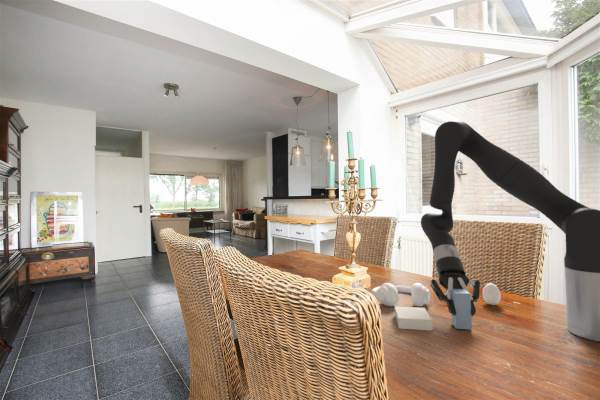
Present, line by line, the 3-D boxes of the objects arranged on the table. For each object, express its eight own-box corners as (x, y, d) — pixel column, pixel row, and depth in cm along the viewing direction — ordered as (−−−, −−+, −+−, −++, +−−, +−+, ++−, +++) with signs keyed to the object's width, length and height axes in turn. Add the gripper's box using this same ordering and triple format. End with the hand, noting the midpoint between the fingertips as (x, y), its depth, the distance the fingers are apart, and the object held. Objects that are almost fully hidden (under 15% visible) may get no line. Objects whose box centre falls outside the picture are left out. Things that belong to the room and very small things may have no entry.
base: (425, 317, 87) (424, 307, 87) (432, 330, 78) (432, 319, 78) (395, 315, 89) (394, 306, 89) (398, 328, 80) (398, 318, 80)
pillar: (451, 322, 82) (450, 288, 82) (466, 323, 81) (465, 289, 81) (456, 328, 78) (454, 293, 78) (471, 329, 77) (470, 293, 77)
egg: (501, 308, 91) (500, 286, 91) (482, 305, 95) (481, 284, 95) (501, 303, 96) (500, 282, 96) (483, 301, 99) (482, 280, 99)
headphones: (437, 309, 92) (418, 295, 112) (435, 284, 93) (416, 275, 113) (377, 309, 94) (369, 295, 114) (376, 285, 95) (368, 275, 115)
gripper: (426, 255, 88) (438, 307, 76) (475, 255, 85) (496, 310, 73) (423, 268, 94) (434, 319, 82) (469, 268, 90) (488, 321, 79)
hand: (463, 314), depth 78 cm, fingers closed on pillar, 4 cm apart
